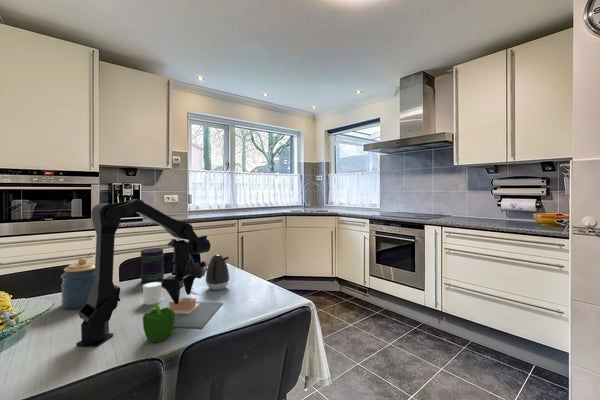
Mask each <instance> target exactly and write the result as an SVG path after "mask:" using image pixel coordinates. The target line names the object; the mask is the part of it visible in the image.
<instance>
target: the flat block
mask: <svg viewBox="0 0 600 400" xmlns="http://www.w3.org/2000/svg"><path fill="white" fill-rule="evenodd" d="M196 302H197V298H196V297H179V303H178V304H175V303H174V301H173V300H172V299H171V300H170V301H169V302H168V303H169V305H168V306H169V307H168V308H169V309H170V310H189V311H191V310H192V309H193V308H194V307H195V306H196Z"/></svg>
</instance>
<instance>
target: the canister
mask: <svg viewBox="0 0 600 400" xmlns="http://www.w3.org/2000/svg"><path fill="white" fill-rule="evenodd" d="M63 271H64V273H63V274H61V275H60V278H61V279H62V283H61V285H60V286H61V306H62V308H63V309H64V310H81V308H82V307H83V306H84V305H85V304H86V303H87V300H88V296H89V292H90V290H91V288H92V286H93V284H94V280H95V261H92V260H90V261H87V258H85V257H82V258H79V259H78V261H77V262H74V263H70V264H69V265H67V267H65V268H63Z"/></svg>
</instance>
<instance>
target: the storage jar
mask: <svg viewBox="0 0 600 400" xmlns="http://www.w3.org/2000/svg"><path fill="white" fill-rule="evenodd" d="M164 258H165V257H164V248H160V247H158V248H155V247H154V248H153V247H152V248H144V249H141V251H140V264H141V270H140V280H141V282H140V283H141V284H142V285H144V284H147V283H151V282H161V281H163V280H164V279H165V277H164V275H165V272H164V270H165V269H164Z"/></svg>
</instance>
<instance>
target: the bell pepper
mask: <svg viewBox="0 0 600 400" xmlns="http://www.w3.org/2000/svg"><path fill="white" fill-rule="evenodd" d="M150 307H151V308H152V309H151V310H150V311H148V312H145V313H144V314H143V317H142V324H143V325H142V326H143V331H144V334H145V337H146V338H147V339H148V340H149V341H150V342H151V343H161V342H164V341H165V340H166V339H167V338H168V337H170V336H171V335H172V333H173V331H174V330H173V329H174V328H173V326H174V321H175V313H174V311H173V310H170V309H169V307H164V308H162V309H161V308H160V306H159V305H158V303H157V304H151V305H150Z"/></svg>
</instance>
